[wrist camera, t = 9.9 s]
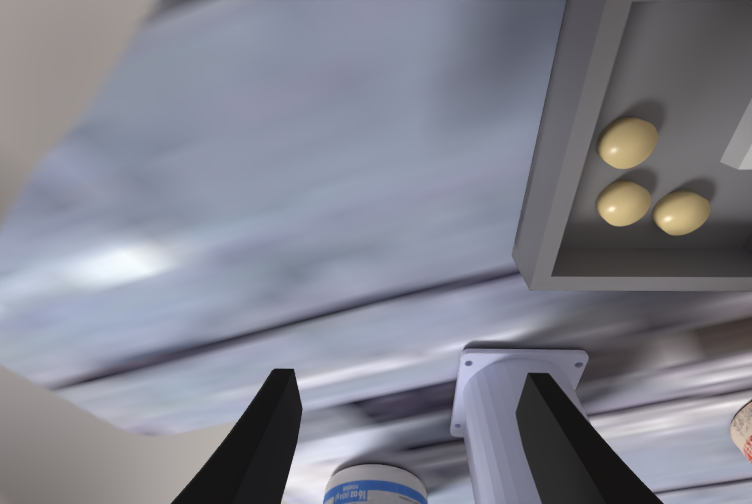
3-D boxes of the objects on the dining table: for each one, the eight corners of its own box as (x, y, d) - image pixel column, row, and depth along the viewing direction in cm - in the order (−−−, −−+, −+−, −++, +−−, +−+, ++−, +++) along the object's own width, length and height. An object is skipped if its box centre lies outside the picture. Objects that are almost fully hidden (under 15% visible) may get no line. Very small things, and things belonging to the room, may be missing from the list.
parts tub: (741, 255, 19) (795, 291, 16) (511, 255, 19) (529, 290, 17) (922, -32, 13) (1056, -46, 10) (571, -21, 13) (614, -32, 11)
